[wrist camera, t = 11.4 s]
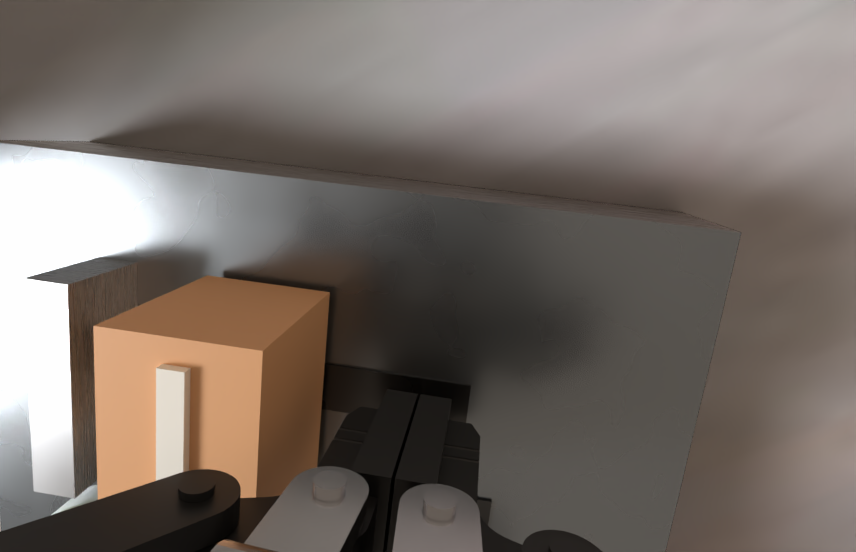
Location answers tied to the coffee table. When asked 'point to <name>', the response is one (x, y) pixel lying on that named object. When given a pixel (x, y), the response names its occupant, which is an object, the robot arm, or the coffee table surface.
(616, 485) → the panel
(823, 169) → the coffee table surface
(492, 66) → the coffee table surface
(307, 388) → the tan box with strip
